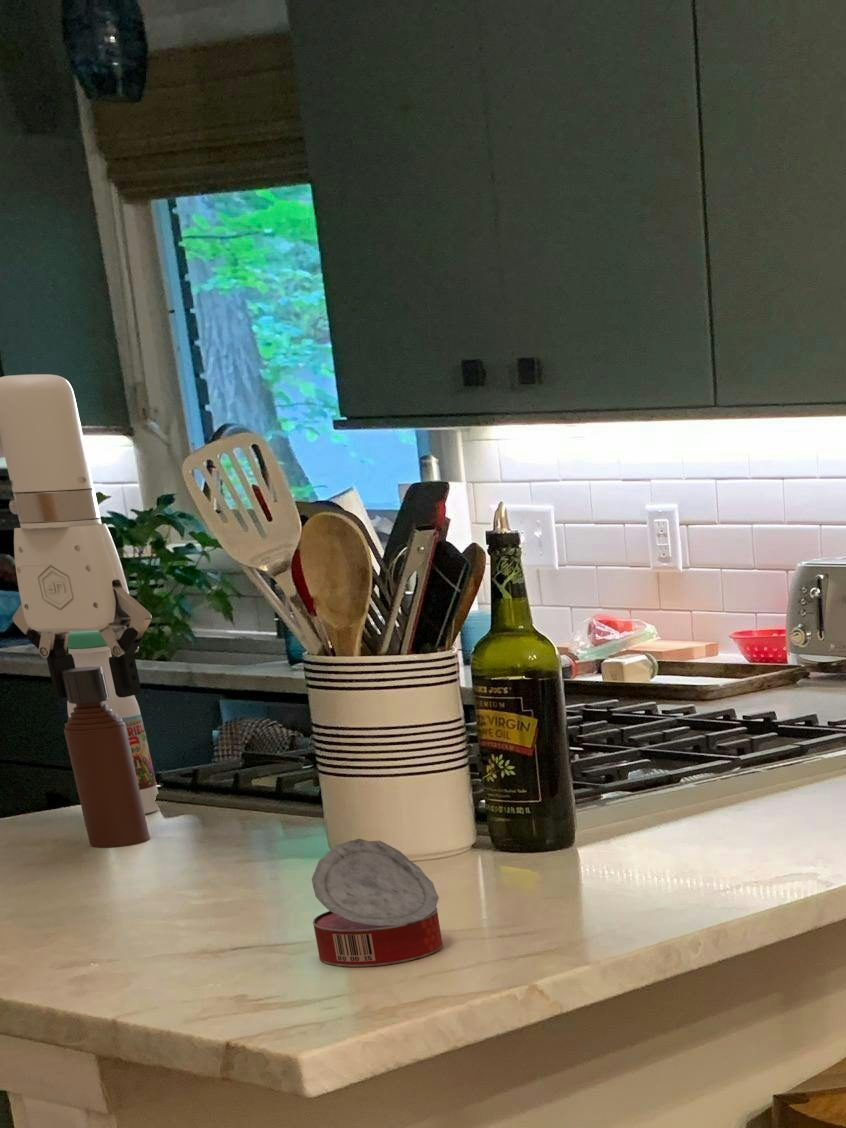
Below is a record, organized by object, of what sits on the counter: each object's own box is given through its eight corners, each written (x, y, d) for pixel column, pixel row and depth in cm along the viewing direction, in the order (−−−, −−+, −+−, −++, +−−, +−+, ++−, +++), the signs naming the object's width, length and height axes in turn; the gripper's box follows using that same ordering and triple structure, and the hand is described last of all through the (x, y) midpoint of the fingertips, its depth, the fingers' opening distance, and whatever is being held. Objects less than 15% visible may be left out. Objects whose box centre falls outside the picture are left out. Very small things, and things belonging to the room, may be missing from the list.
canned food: (434, 988, 164) (476, 880, 161) (407, 1009, 154) (451, 894, 152) (306, 932, 162) (347, 822, 160) (271, 950, 153) (313, 833, 150)
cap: (62, 702, 201) (55, 670, 199) (100, 697, 203) (93, 665, 202) (77, 704, 198) (70, 672, 197) (114, 700, 200) (108, 667, 199)
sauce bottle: (79, 847, 204) (40, 681, 197) (108, 836, 210) (71, 673, 202) (132, 847, 203) (95, 679, 196) (160, 835, 209) (125, 671, 202)
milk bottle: (75, 819, 220) (33, 635, 211) (117, 806, 226) (78, 627, 218) (134, 819, 218) (94, 634, 210) (175, 806, 225) (137, 626, 216)
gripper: (-41, 515, 192) (3, 701, 199) (107, 510, 187) (147, 700, 194) (11, 511, 198) (52, 691, 206) (156, 506, 194) (192, 690, 201)
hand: (98, 694), depth 200 cm, fingers open, 6 cm apart
